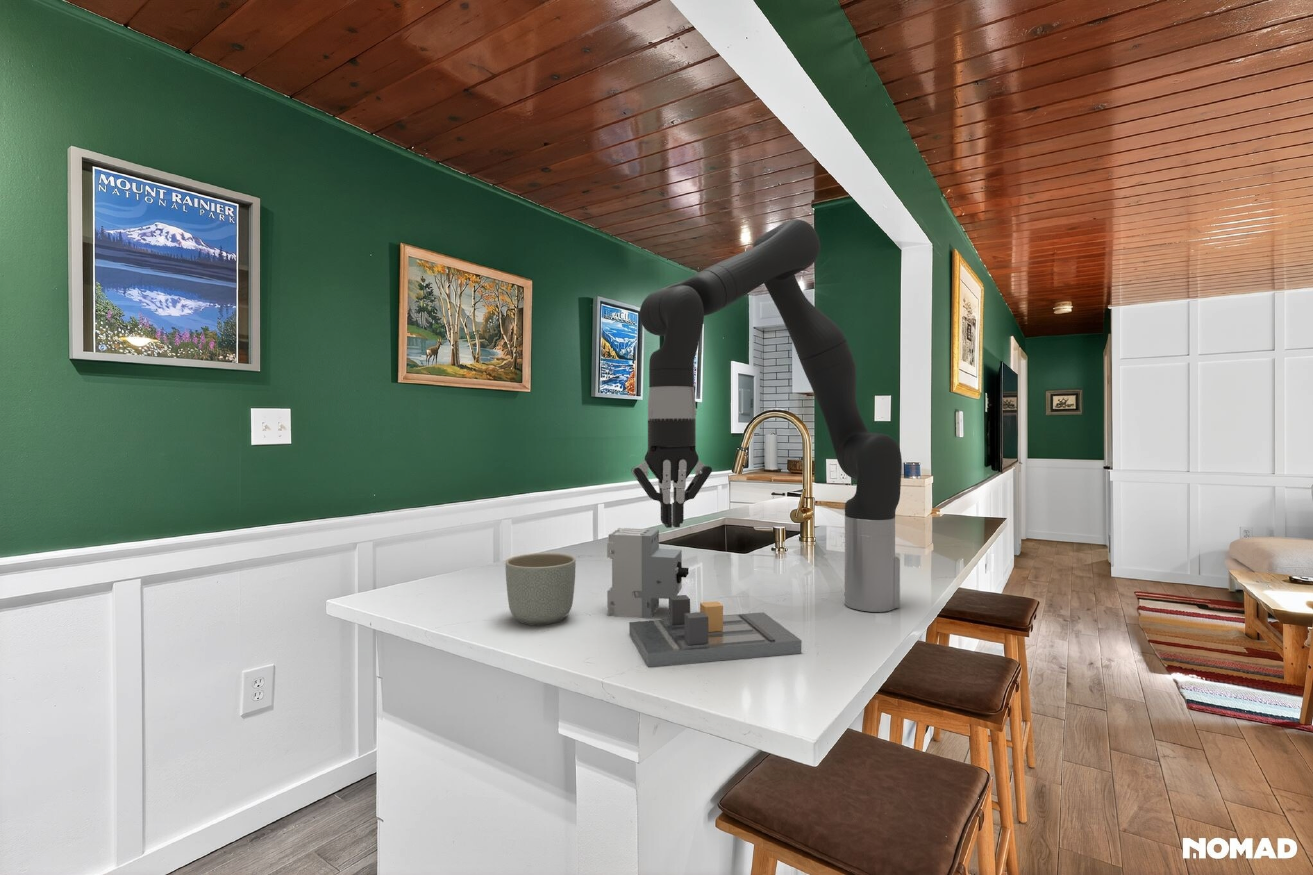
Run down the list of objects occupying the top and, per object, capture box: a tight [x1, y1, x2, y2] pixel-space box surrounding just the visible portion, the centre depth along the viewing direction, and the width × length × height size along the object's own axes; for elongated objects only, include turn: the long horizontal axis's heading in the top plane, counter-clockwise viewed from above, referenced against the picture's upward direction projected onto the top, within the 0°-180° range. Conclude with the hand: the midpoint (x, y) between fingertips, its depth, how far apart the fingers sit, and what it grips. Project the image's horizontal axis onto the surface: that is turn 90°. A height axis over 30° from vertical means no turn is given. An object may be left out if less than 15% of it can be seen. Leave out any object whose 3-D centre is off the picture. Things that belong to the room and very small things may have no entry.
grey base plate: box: [628, 611, 803, 668], centre depth 103 cm, size 24×15×2 cm, turn 103°
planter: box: [504, 552, 577, 626], centre depth 115 cm, size 12×12×11 cm
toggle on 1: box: [668, 594, 691, 624], centre depth 107 cm, size 3×3×4 cm
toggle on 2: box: [684, 611, 708, 645], centre depth 97 cm, size 3×3×4 cm
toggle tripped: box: [699, 600, 724, 632], centre depth 103 cm, size 3×3×4 cm
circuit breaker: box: [606, 527, 690, 619], centre depth 120 cm, size 8×14×15 cm, turn 78°
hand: (671, 526), depth 101 cm, fingers closed
